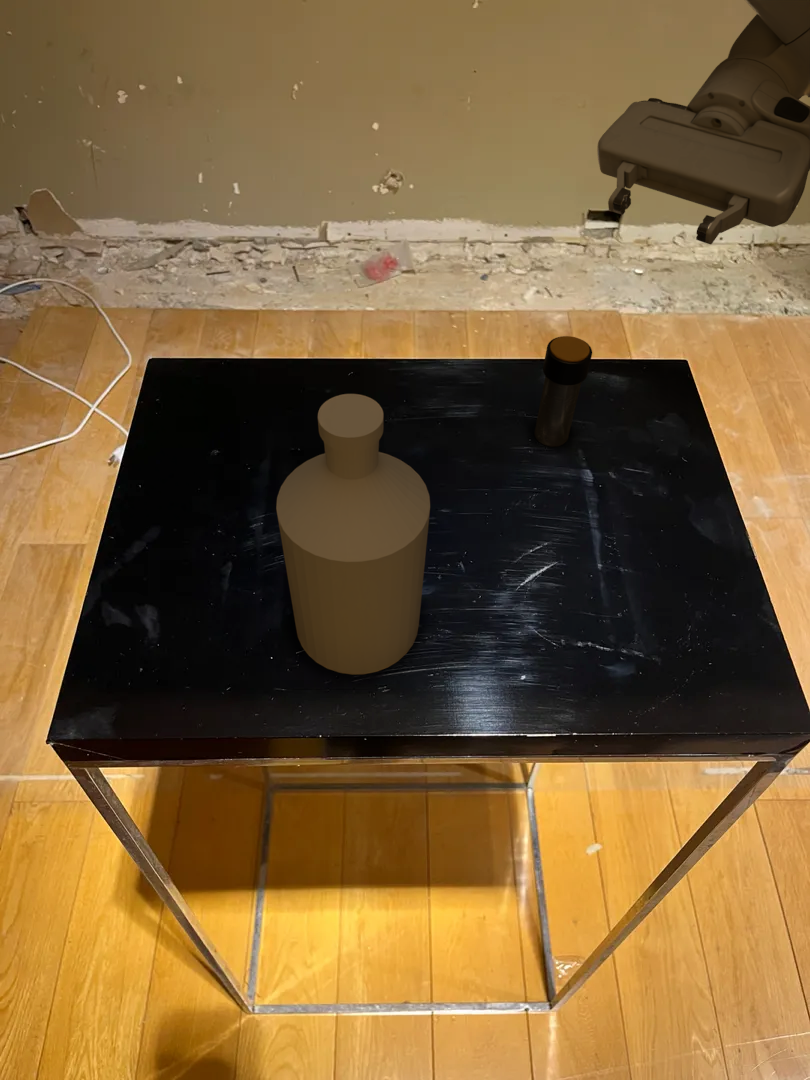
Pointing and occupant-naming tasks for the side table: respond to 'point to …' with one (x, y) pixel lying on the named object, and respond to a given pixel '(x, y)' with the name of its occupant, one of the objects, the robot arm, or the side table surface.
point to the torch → (561, 388)
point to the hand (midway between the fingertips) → (657, 222)
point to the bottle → (354, 543)
